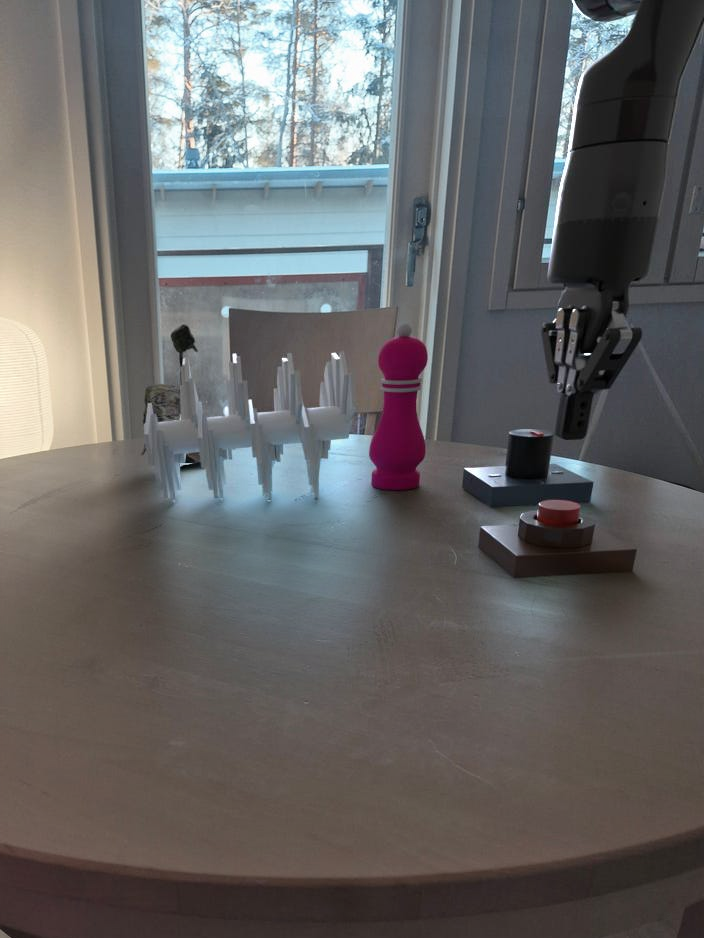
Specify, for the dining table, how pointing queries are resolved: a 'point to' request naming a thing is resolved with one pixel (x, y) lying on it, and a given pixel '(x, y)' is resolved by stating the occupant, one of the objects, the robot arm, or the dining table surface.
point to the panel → (525, 487)
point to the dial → (528, 453)
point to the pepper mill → (399, 414)
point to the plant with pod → (171, 389)
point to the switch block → (555, 548)
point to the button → (558, 512)
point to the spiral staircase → (252, 426)
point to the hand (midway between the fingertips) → (569, 437)
